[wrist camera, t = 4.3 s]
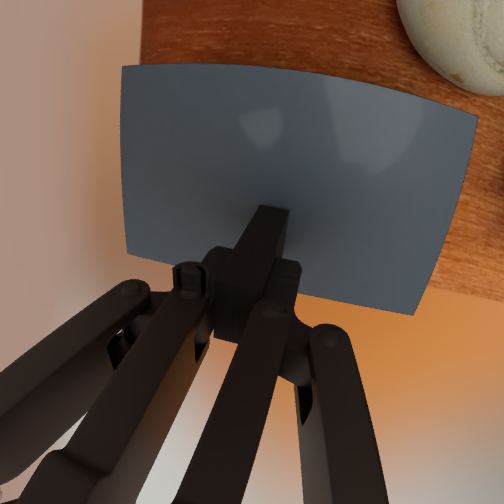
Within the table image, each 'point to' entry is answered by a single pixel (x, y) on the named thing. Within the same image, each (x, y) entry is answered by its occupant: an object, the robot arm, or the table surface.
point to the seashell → (459, 40)
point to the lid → (293, 173)
